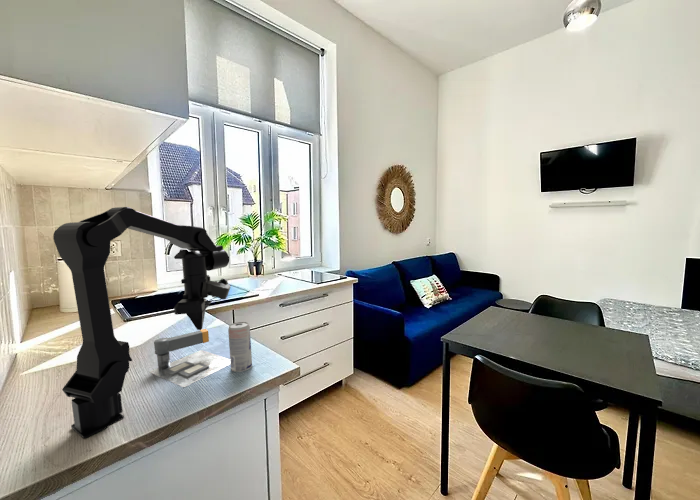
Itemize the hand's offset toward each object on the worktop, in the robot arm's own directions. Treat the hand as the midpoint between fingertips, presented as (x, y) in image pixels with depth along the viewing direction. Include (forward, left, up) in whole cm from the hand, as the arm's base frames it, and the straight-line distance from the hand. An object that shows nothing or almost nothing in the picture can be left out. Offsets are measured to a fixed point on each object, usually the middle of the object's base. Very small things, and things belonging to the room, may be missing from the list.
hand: (199, 329), depth 84 cm
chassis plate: (-3, 0, -10) cm, 10 cm away
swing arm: (-2, +5, -5) cm, 8 cm away
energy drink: (+3, -12, -10) cm, 16 cm away
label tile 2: (-5, +2, -9) cm, 11 cm away
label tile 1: (-4, -3, -9) cm, 11 cm away
